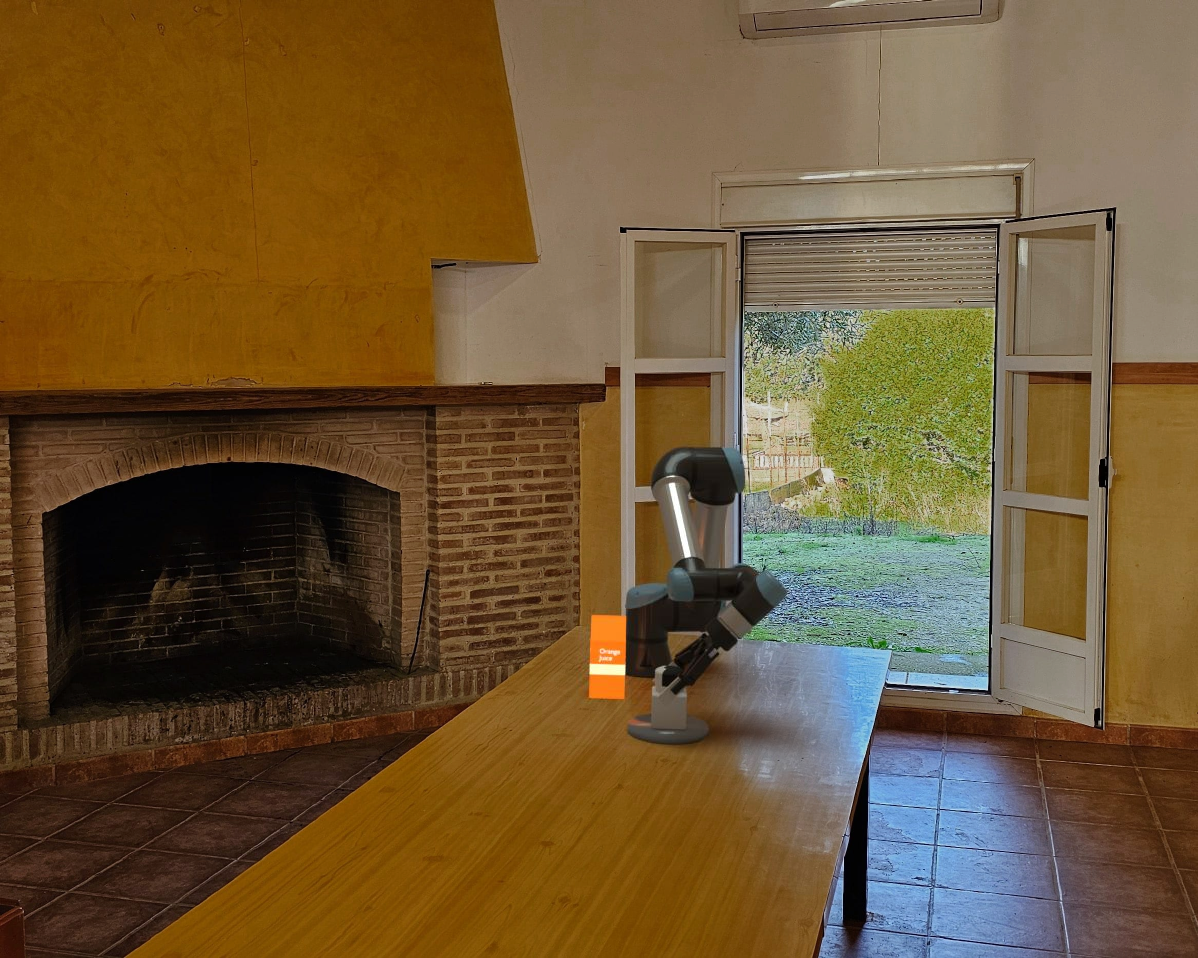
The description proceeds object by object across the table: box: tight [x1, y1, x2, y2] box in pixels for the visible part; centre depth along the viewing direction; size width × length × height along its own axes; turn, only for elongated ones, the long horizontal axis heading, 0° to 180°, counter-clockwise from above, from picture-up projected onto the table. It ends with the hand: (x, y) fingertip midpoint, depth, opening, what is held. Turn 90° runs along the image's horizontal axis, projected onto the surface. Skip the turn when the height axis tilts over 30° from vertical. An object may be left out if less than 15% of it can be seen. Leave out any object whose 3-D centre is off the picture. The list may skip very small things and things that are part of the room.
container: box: [650, 666, 688, 730], centre depth 250 cm, size 8×8×13 cm
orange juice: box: [588, 614, 626, 700], centre depth 279 cm, size 8×9×20 cm
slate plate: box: [627, 713, 709, 745], centre depth 250 cm, size 18×18×2 cm
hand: (658, 693), depth 250 cm, fingers open, 13 cm apart
